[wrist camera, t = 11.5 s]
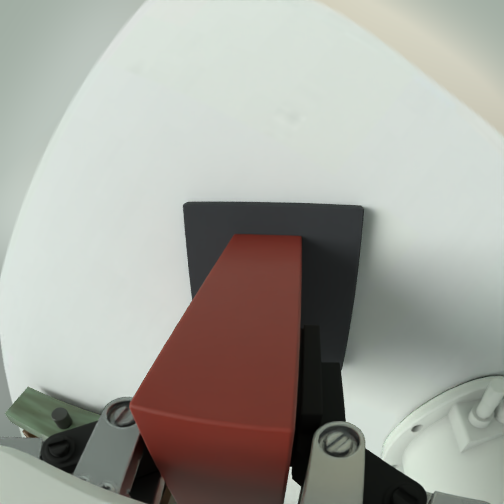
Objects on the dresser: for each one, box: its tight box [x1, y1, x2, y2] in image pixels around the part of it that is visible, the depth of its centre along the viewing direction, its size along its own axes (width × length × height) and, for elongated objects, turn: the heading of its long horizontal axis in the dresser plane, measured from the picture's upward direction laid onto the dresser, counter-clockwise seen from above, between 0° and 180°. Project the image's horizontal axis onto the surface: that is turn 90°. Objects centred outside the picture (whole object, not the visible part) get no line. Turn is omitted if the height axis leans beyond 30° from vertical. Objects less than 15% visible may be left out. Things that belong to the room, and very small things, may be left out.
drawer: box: [6, 387, 165, 503], centre depth 22 cm, size 15×13×4 cm
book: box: [129, 234, 302, 504], centre depth 10 cm, size 6×3×10 cm, turn 2°
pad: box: [183, 202, 364, 370], centre depth 15 cm, size 9×8×1 cm
